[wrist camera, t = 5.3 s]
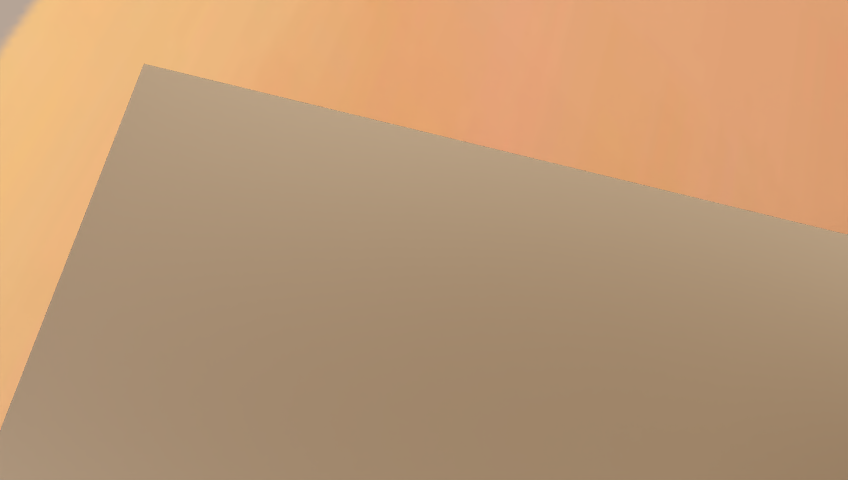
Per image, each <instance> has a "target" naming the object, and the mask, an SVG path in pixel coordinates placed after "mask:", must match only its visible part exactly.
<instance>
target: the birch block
mask: <svg viewBox="0 0 848 480" xmlns="http://www.w3.org/2000/svg"><path fill="white" fill-rule="evenodd" d="M0 480H848V235H847V234H843V233H839V232H834V231H830V230H826V229H822V228H818V227H814V226H810V225H806V224H802V223H797V222H793V221H789V220H785V219H781V218H777V217H773V216H769V215H765V214H760V213H756V212H752V211H748V210H744V209H740V208H736V207H732V206H727V205H723V204H719V203H715V202H711V201H707V200H703V199H699V198H695V197H690V196H686V195H682V194H678V193H674V192H670V191H666V190H662V189H657V188H653V187H649V186H645V185H641V184H637V183H633V182H629V181H625V180H620V179H616V178H612V177H608V176H604V175H600V174H596V173H592V172H587V171H583V170H579V169H575V168H571V167H567V166H563V165H559V164H555V163H550V162H546V161H542V160H538V159H534V158H530V157H526V156H522V155H517V154H513V153H509V152H505V151H501V150H497V149H493V148H489V147H485V146H480V145H476V144H472V143H468V142H464V141H460V140H456V139H452V138H447V137H443V136H439V135H435V134H431V133H427V132H423V131H419V130H415V129H410V128H406V127H402V126H398V125H394V124H390V123H386V122H382V121H377V120H373V119H369V118H365V117H361V116H357V115H353V114H349V113H345V112H340V111H336V110H332V109H328V108H324V107H320V106H316V105H312V104H307V103H303V102H299V101H295V100H291V99H287V98H283V97H279V96H275V95H270V94H266V93H262V92H258V91H254V90H250V89H246V88H242V87H237V86H233V85H229V84H225V83H221V82H217V81H213V80H209V79H205V78H200V77H196V76H192V75H188V74H184V73H180V72H176V71H172V70H167V69H163V68H159V67H155V66H151V65H147V64H144V65H143V68H142V70H141V73H140V75H139V78H138V80H137V83H136V85H135V88H134V91H133V93H132V96H131V98H130V101H129V103H128V106H127V108H126V111H125V114H124V116H123V119H122V121H121V124H120V126H119V129H118V131H117V134H116V136H115V139H114V142H113V144H112V147H111V149H110V152H109V154H108V157H107V159H106V162H105V165H104V167H103V170H102V172H101V175H100V177H99V180H98V182H97V185H96V187H95V190H94V193H93V195H92V198H91V200H90V203H89V205H88V208H87V210H86V213H85V216H84V218H83V221H82V223H81V226H80V228H79V231H78V233H77V236H76V238H75V241H74V244H73V246H72V249H71V251H70V254H69V256H68V259H67V261H66V264H65V267H64V269H63V272H62V274H61V277H60V279H59V282H58V284H57V287H56V289H55V292H54V295H53V297H52V300H51V302H50V305H49V307H48V310H47V312H46V315H45V318H44V320H43V323H42V325H41V328H40V330H39V333H38V335H37V338H36V340H35V343H34V346H33V348H32V351H31V353H30V356H29V358H28V361H27V363H26V366H25V369H24V371H23V374H22V376H21V379H20V381H19V384H18V386H17V389H16V391H15V394H14V397H13V399H12V402H11V404H10V407H9V409H8V412H7V414H6V417H5V420H4V422H3V425H2V427H1V430H0Z"/></svg>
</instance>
